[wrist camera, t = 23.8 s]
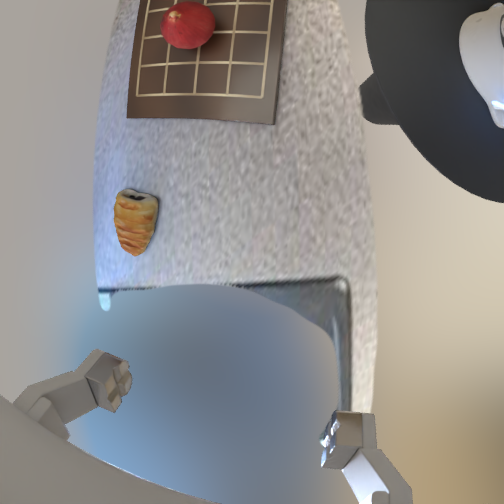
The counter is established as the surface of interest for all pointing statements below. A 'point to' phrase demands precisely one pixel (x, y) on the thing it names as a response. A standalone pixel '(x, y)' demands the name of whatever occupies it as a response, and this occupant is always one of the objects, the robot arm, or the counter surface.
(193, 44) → the onion
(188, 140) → the counter surface
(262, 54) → the grid board
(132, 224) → the pastry
